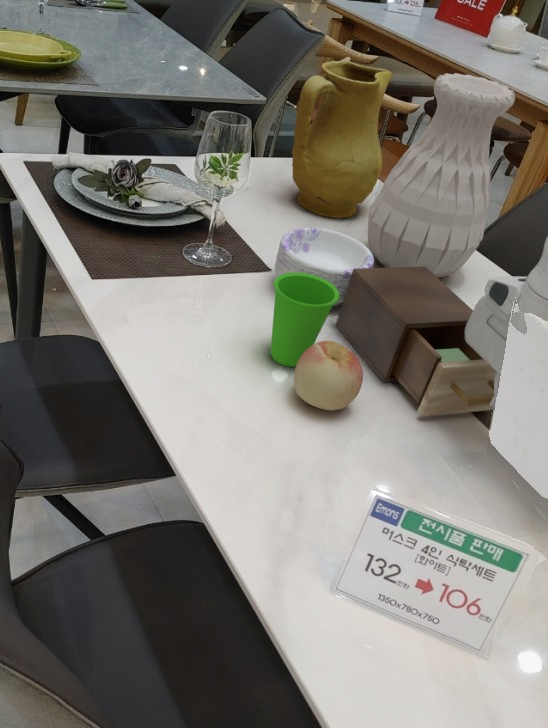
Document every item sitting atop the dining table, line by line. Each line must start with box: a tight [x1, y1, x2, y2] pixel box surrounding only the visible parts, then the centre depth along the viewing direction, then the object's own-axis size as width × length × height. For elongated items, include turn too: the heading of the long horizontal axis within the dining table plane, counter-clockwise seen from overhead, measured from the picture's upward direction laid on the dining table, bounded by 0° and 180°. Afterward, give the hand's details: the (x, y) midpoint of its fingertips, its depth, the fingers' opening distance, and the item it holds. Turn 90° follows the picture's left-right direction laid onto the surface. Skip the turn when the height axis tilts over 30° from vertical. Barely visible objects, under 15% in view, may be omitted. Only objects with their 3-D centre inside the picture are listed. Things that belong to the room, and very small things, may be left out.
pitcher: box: [291, 60, 393, 220], centre depth 147 cm, size 17×19×25 cm
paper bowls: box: [274, 226, 375, 307], centre depth 124 cm, size 15×15×8 cm
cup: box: [270, 273, 339, 368], centre depth 108 cm, size 9×9×11 cm
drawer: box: [391, 325, 497, 417], centre depth 105 cm, size 19×11×8 cm, turn 17°
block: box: [436, 348, 470, 362], centre depth 106 cm, size 4×4×4 cm
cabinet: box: [335, 267, 474, 384], centre depth 113 cm, size 16×13×10 cm
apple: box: [293, 340, 364, 411], centre depth 101 cm, size 9×9×8 cm
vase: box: [367, 72, 516, 279], centre depth 129 cm, size 20×20×30 cm
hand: (500, 412), depth 97 cm, fingers closed
